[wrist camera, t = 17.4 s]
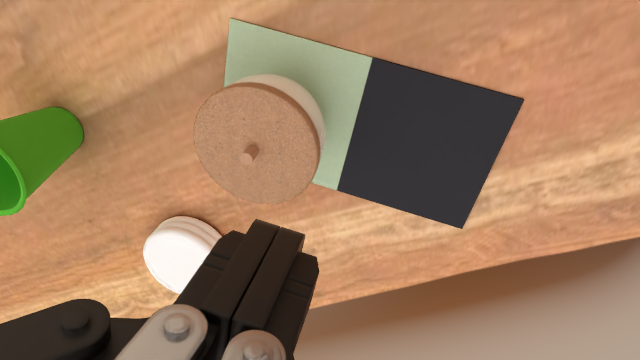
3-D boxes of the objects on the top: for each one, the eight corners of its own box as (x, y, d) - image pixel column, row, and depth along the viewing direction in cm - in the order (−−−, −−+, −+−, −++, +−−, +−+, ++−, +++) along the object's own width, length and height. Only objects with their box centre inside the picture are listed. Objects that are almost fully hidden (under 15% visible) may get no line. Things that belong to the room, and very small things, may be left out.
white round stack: (141, 227, 56) (124, 244, 53) (202, 203, 52) (187, 221, 49) (188, 286, 59) (174, 306, 57) (248, 269, 55) (236, 289, 52)
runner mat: (523, 99, 38) (524, 99, 38) (462, 227, 45) (462, 228, 45) (230, 17, 40) (229, 18, 40) (218, 152, 48) (217, 153, 48)
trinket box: (337, 60, 40) (310, 97, 32) (337, 168, 45) (314, 223, 37) (223, 55, 42) (171, 89, 34) (236, 158, 47) (194, 208, 39)
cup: (113, 160, 52) (41, 214, 42) (51, 166, 54) (-29, 218, 45) (78, 83, 48) (-11, 125, 38) (13, 94, 50) (-85, 135, 41)
